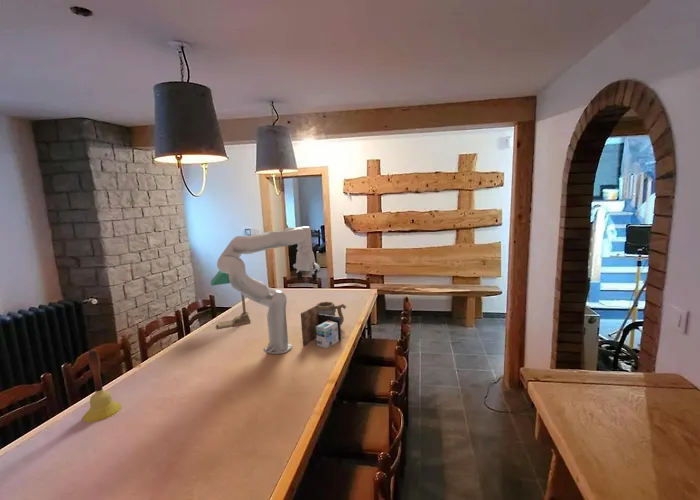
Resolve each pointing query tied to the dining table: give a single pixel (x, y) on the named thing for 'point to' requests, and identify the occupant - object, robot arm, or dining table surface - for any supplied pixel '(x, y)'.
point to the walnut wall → (309, 324)
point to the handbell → (99, 394)
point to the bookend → (324, 318)
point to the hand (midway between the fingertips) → (307, 280)
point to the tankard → (331, 309)
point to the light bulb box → (327, 334)
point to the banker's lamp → (243, 318)
